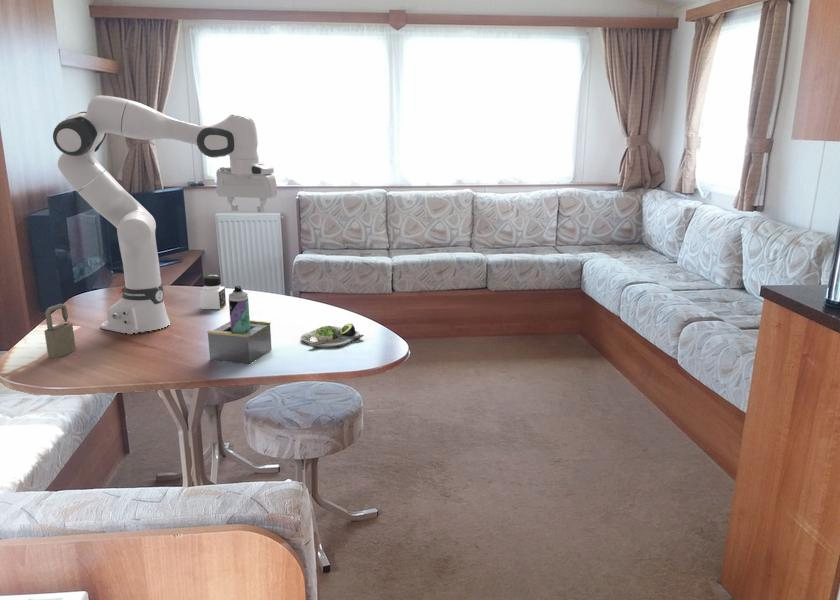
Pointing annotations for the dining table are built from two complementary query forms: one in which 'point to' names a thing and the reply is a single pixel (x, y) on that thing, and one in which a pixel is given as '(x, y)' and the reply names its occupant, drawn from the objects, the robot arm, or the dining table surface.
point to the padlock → (59, 334)
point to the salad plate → (332, 336)
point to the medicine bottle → (212, 293)
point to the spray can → (239, 311)
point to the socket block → (240, 343)
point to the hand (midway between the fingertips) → (247, 211)
